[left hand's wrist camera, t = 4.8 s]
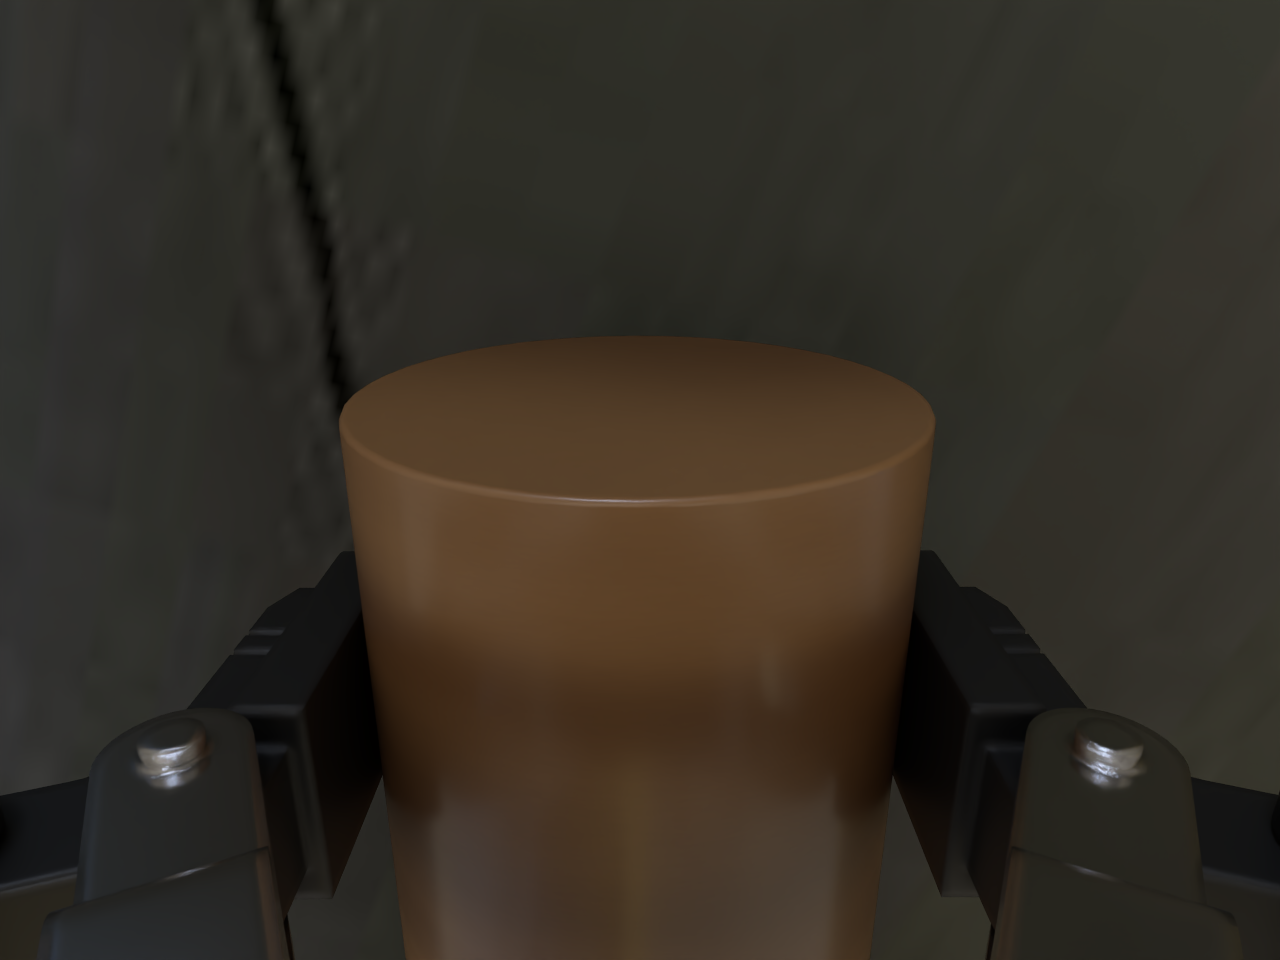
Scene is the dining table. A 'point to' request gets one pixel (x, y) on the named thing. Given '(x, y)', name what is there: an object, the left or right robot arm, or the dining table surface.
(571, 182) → the dining table surface
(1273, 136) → the dining table surface
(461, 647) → the rod
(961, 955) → the dining table surface
